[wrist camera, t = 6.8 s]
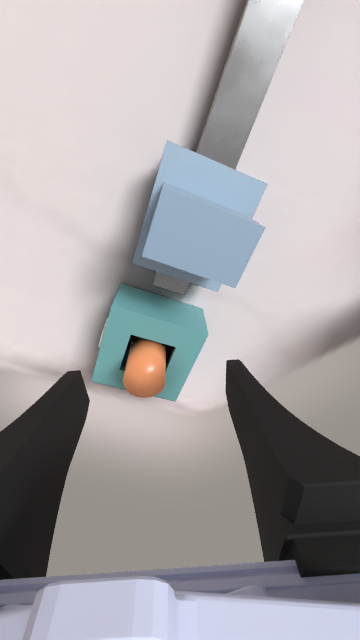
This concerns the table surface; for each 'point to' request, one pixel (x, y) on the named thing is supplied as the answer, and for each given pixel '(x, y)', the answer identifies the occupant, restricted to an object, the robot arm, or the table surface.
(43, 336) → the table surface
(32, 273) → the table surface
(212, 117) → the rail
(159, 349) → the plunger
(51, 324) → the table surface
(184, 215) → the carriage
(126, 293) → the teal button housing
